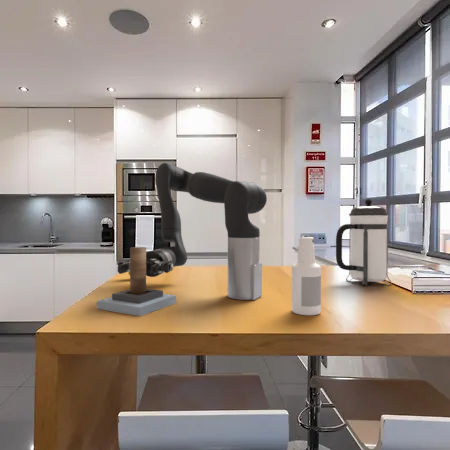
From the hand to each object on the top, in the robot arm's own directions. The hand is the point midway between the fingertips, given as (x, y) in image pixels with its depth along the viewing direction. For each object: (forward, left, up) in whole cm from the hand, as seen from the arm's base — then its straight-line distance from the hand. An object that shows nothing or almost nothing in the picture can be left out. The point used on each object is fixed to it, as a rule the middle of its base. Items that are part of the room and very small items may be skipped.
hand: (135, 270), depth 84 cm
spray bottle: (-39, -15, -10) cm, 43 cm away
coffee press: (-49, -62, -10) cm, 80 cm away
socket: (+1, -1, -10) cm, 10 cm away
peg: (+1, -1, -10) cm, 10 cm away
